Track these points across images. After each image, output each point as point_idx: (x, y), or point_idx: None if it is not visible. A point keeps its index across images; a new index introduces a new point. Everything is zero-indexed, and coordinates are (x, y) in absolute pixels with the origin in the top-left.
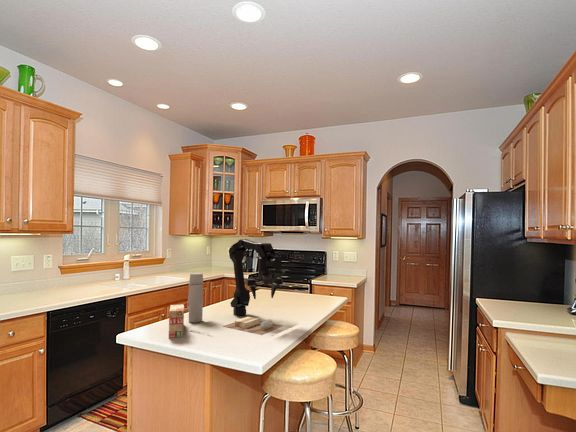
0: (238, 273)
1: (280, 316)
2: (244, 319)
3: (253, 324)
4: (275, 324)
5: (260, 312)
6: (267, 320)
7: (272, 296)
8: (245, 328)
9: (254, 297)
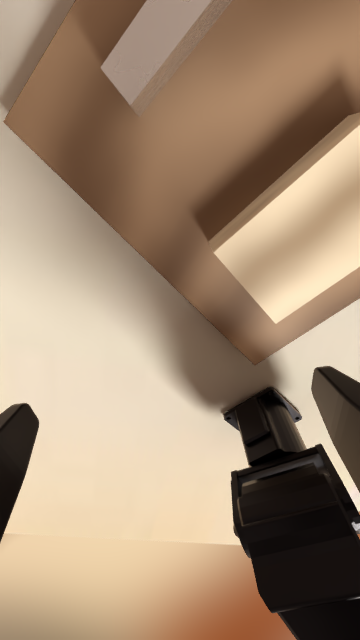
0: None
1: (53, 405)
2: (332, 247)
3: (262, 196)
4: (81, 186)
5: (148, 464)
6: (159, 52)
7: (3, 422)
8: (353, 109)
9: (357, 382)
